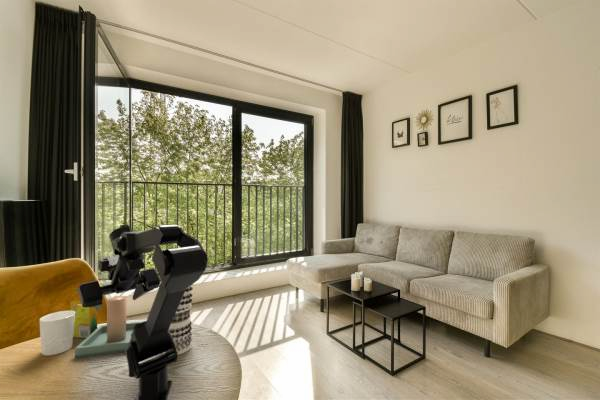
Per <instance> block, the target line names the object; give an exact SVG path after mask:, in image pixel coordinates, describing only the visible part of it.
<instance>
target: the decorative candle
mask: <svg viewBox="0 0 600 400" xmlns="http://www.w3.org/2000/svg"><path fill="white" fill-rule="evenodd" d="M160 284H161V283H160ZM159 286H160V285H159ZM192 291H193V287H192V285H190V286H189V287H188V288H187V289H186V290H185V293H184V295H183V297H182V300H181V302H180V304H179V307H178V309H177V311H176V313H175V316H174V318H173V320H172V323H171V325H170V327H169V331H170V333H171V336H172V339H173V341H174V344H175V347H176V350H177V353H178V355H181V354H184V353H186V352H188V351H189V350H190V349H191V348H192V340H193V338H192V335H193V334H192V329H193V328H192V323H193V322H192V320H191V308H192V302H193V299H192V297H193V294H192V293H191V292H192ZM162 354H165V352H163V353H161V355H162Z"/></svg>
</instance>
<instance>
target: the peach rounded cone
mask: <svg viewBox="0 0 600 400" xmlns="http://www.w3.org/2000/svg"><path fill="white" fill-rule="evenodd" d="M126 323H127V296H125V295H118V296H117V295H116V296H113V297H109V298H107V300H106V325H107V342H108V343H114V342H119V341H122V340H124V339H125V338H126Z"/></svg>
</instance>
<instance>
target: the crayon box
mask: <svg viewBox="0 0 600 400" xmlns="http://www.w3.org/2000/svg"><path fill="white" fill-rule="evenodd" d="M70 311H75V326H74V336H73V338H82V339H83V338H84V339H86V338H87V337H88V336H89V335H91V334H92V333H93V332H94V331H95V330H96V329H97V328H98V311H97V310H96V308H94V307H86V308H85V307H82V304H81V301H80V300H71V301H70Z"/></svg>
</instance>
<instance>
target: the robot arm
mask: <svg viewBox="0 0 600 400" xmlns="http://www.w3.org/2000/svg"><path fill="white" fill-rule="evenodd" d="M109 241H110V243H111V244H110V245H111V247H112V250H113V253H114V255H115V256H110V257H105V258H100V259H99V260H98V266H97V267H98V271H100V272H101V273H105V272H107V273H108V275H107V279H108V280H109V281H110V284H107V285H106V284H105V285H103V286H100V284H99V281H98V280H92V281H87V282H83V283H80V284H79V285H78V287H77V295H78V297H79V301H81V303H80V304H82V307H85V308H86V307H94V308H96V310H97V312H99V311H100V310H101V308H102V305H103V300H104V298H103V296H104V297H105V296H108V295H112V294H116V295H118V294H121V293H124V292H129V291H132V290H134V292H133V294H132V300H133V301H136V300H137V299H140V298H141V297H143V296H144V295H146V294H148V293H149V292H151V291H154V290H155V289H158V290H157V293H156V295H155V297H154V300H153V303H152V304H151V307H150V311H149V314H148V316H147V319H146V320H143V321H144V322H141V323H137V324H136V325H135V326H134V328H133V332H132V334H131V339H130V343H128V345H127V350H126V352H125V355H126V362H127V367H128V377H129V378H135V379H136V380H138V392H137V394H136V396H135V398H134V400H167V399H168V395H169V393H170V390H171V386H172V384H173V381H172V380H168V379H169V378H168V374H169V372H168V371H169V369H168V368H169V365H171V364H174V363H176V362H178V353H177V350H176V347H175V344H174V341H173V339H172V336H171V333H170V331H169V327H170V325H171V323H172V320H173V318H174V316H175V313H176V311H177V309H178V307H179V304H180V302H181V300H182V297H183V295H184V293H185V290H186V289H187V288H188V287H191V286H193V285H194V283H196V282H197V281H199V280H200V278H201V277H202V275H203V274H204V272H205V271H206V268H207V266H208V258H209V257H208V255H207V252H206V251H205V249H204V248H203V246H202V245H201V243H200V242H199V240H198V239H196V238H195V237H193V236H192V235H190V234H188V233H186V232H185V231H184V229H183V228H182V226H181V225H177V224H165V225H163V224H162V225H157V226H154V227H153V228H150V229H148V230H139V231H133V229H132V228H131V227H130V225H129V224H121V225H120V226H119V227H118V228H116V229H113V230H112V231H111V232H110V233H109ZM172 244H173V245H174V244H176V245H177V246H178V247H176V248H168V249H167V248H166V249H163V250H162V248H161V246H164V245H172ZM152 252H153V254H152V257H151V260H152V263H153V265H154V266H155V268H148V269H145V268H146V267H145V265H146V264H145V262H144V260H145V255H144V254H149V253H152ZM141 269H142V270H141ZM160 283H161V284H160ZM159 285H160V286H159ZM190 285H191V286H190ZM163 352H165V354H162V353H163Z"/></svg>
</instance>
